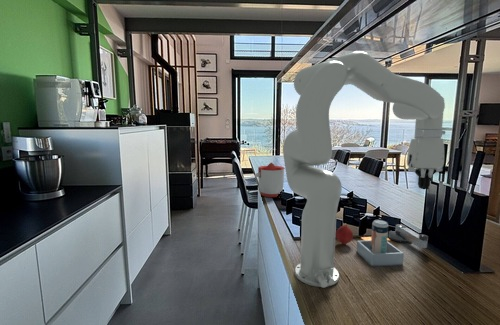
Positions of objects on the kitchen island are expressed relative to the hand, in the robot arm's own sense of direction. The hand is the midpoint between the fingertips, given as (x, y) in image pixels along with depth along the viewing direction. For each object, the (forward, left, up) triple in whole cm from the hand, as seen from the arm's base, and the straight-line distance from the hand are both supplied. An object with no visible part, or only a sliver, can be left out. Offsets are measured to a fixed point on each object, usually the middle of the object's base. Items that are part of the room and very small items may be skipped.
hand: (423, 188), depth 96 cm
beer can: (-4, +17, -22) cm, 28 cm away
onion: (+7, +24, -23) cm, 34 cm away
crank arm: (+4, 0, -20) cm, 21 cm away
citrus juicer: (+76, +39, -23) cm, 89 cm away
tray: (-4, +17, -22) cm, 28 cm away
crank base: (+10, +6, -22) cm, 25 cm away
